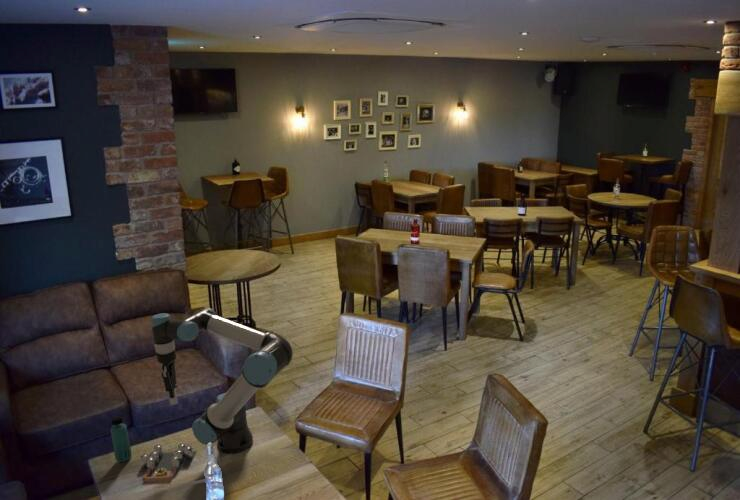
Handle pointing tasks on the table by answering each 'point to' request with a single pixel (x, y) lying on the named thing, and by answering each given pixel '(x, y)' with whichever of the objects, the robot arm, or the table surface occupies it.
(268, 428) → the table surface
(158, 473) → the nut
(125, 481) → the table surface
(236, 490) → the table surface
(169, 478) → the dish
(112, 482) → the table surface
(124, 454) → the beverage bottle
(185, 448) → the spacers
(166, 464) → the mat
